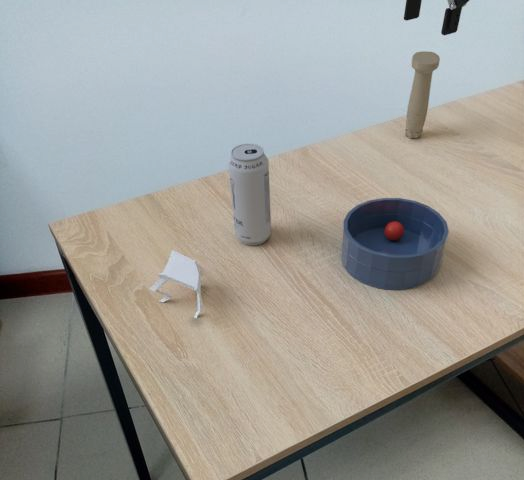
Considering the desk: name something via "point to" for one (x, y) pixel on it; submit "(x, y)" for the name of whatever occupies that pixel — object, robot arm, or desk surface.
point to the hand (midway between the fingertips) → (429, 25)
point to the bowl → (393, 243)
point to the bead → (394, 231)
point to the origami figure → (181, 276)
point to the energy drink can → (250, 193)
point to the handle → (420, 92)
